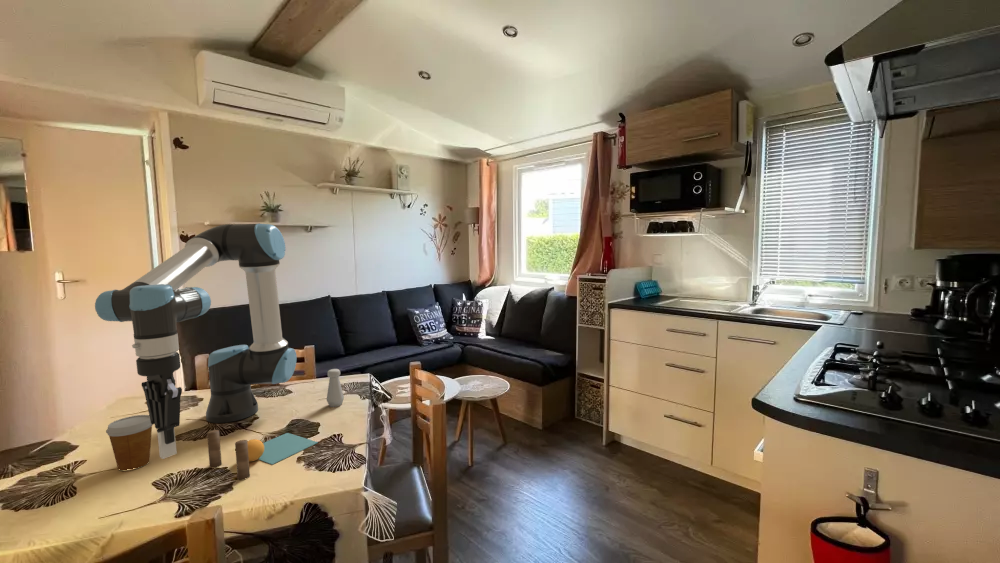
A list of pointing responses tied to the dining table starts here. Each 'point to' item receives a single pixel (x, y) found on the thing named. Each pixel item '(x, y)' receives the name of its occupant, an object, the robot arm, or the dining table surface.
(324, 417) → the dining table surface
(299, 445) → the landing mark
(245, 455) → the outer post
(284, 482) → the dining table surface
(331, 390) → the salt shaker
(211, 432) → the inner post
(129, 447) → the disposable coffee cup
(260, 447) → the ball
